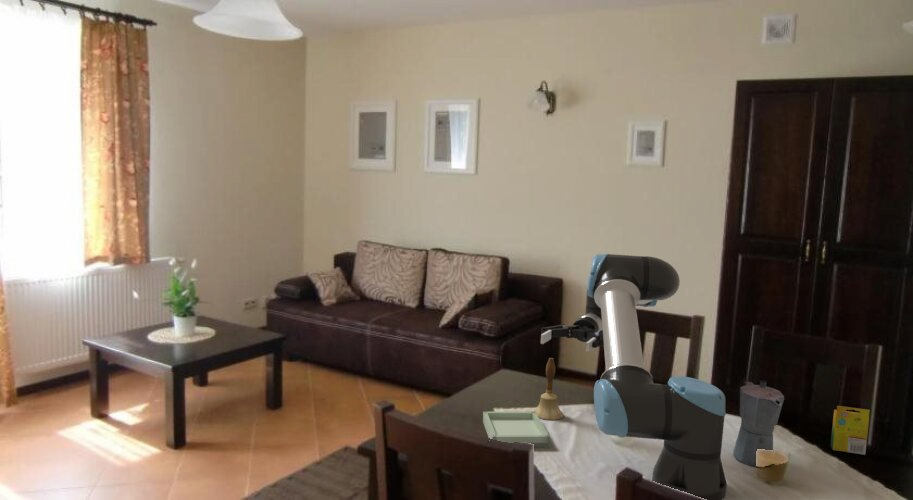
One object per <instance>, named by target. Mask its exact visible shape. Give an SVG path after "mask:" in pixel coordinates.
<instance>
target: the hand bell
mask: <svg viewBox="0 0 913 500" xmlns="http://www.w3.org/2000/svg"><path fill="white" fill-rule="evenodd" d="M545 366H546V367H545V376H546V390H545V393H542V394H541V395H540V400H539V404H538V406H537V407H536V408H535V409H533V412H536V414H537V416H538V418H539V419H540V420H541V419H542V420H546V421H555V420H560V419H562V418H563V417H564V413H563V412H562V411H561V409H560V407H559V404H558V403H559V402H558V396H557V395H556V394H554V393H553V390H554V389H553V387H554V386H553V382H554V377H555V374H556V365H555V360H554V358H553V357H549V358H548V361H547V363H546V365H545Z"/></svg>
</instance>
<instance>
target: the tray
mask: <svg viewBox="0 0 913 500" xmlns="http://www.w3.org/2000/svg"><path fill="white" fill-rule="evenodd" d="M482 424H483V425H484V430H485V432H486V435H487V438H488V439H489V438H490V439H493V440H497V441H501V442H508V443H514V442H527V443H531V444H534V448H535V449H536V448H538V449H539V448H549V447H550V435H549V433H548V431H547V429H546V428H545V426H544V424H543V423H542V421H541V418H538V416H537V414H536V412H534V411H483V412H482Z"/></svg>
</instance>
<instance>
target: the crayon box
mask: <svg viewBox="0 0 913 500" xmlns="http://www.w3.org/2000/svg"><path fill="white" fill-rule="evenodd" d="M847 410H848V411H847ZM853 410H854V411H855V412H854V411H853ZM870 411H871V410H870V409H865V408H859V407H857V408H856V407H850V406H843V405H837V406H836V409H833V419H832V427H831V428H832V429H831V434H830V435H831V437H830V448H831V449H832V450H833V451H839V452H845V453H851V454H858V455H863V456H866V452H867V451H866V450H867V440H868V435H869V434H868V432H869V426H870V425H869V423H870V413H871V412H870Z"/></svg>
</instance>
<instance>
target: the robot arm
mask: <svg viewBox="0 0 913 500" xmlns="http://www.w3.org/2000/svg"><path fill="white" fill-rule="evenodd" d="M591 259H592V260H591V266H590V272H589V273H590V274H589V276H588V278H587V285H586V298H585V299H586V301H585V302H586V303H585V311H584V312H585V314H584V315H583V316H581V317H580V318H578V319H576V320H575V321H574V322H573V323H572V325H568V326H567V325H565V323H561V324H558V325H551V326H545V327H541V329H540V331H541V332H540V344H541V345H544V344H546V343H547V342H549V341H551V340H552V338H567V339H576V340H578V341H580V342H582V343H586V344H585V353H589V352H591V351H592V350H593V349H597V348H599V347H600V346H601V347H602V348H603V350H604V351H603V352H604V362H605V371H604V372H603V373H602V374H601V376H600V379H598V380H596V381H595V383H594V387H593V403H594V405H593V408H594V415H595V419H596V420H595V421H596V425H597V426H598V429H599V430H600V431H601V433H602V432H603V434H605V435H606V436H607V435H608V436H616V437H619V438H625V437H626V438H627V437H628V438H637V439H638V438H639V439H651V440H660V441H663V447H662V448H661V449H662V450H661V451H660V454H659V456H658V457H657V460H656V462H655V465H654V467H653V469H652V476H651V477H652V482H653V481H655V482H657V483H660V484H662V485H666V486H669V487H671V488H674V489H678V490H680V491H684V492H687V493H690V494H693V495H695V496H698V497H701V498H704V499H707V500H724V499H725V497H726V496H727V489H728V488H727V487H728V484H727V478H726V475H725V472H724V467H723V464H722V459H721V455H722V454H721V453H722V444H723V437H724V436H723V435H724V434H723V433H724V426H725V425H724V424H725V417H726V415H727V413H726V396H725V393H724V392H723V391H722V390H721V389H719V388H718V387H717V386H715V385H713V384H712V383H709V382H707V381H703V380H700V379H697V378H693V377H689V376H683V375H676V376H672V377H670V378H669V380H668V381H667V384H662V383H654V379H653V378H654V377H653V375H652V374H651V372H650V371H649V370H648V369H646V368H645V365H644V356H643V352H642V351H643V350H642V349H643V348H642V343H641V336H640V327H639V322H638V321H639V320H638V313H637V307H643V308H644V307H645V308H647V307H652V308H653V307H655V306H657V303H658V301H663V300H667V299H670V298H672V296H674V295H675V294H676V293H677V292H678V289H679V287H680V280H681V279H680V276H679V274H678V272H677V270H676V269H675V268H674V266H673V265H671V264H670V263H669V262H667V261H665V260H663V259H661V258H658V257H654V256H643V255H642V256H641V255H625V254H613V253H612V254H610V253H606V254H602V253H601V254H600V253H599V254H595V255H594V256H593V257H592V258H591Z"/></svg>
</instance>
